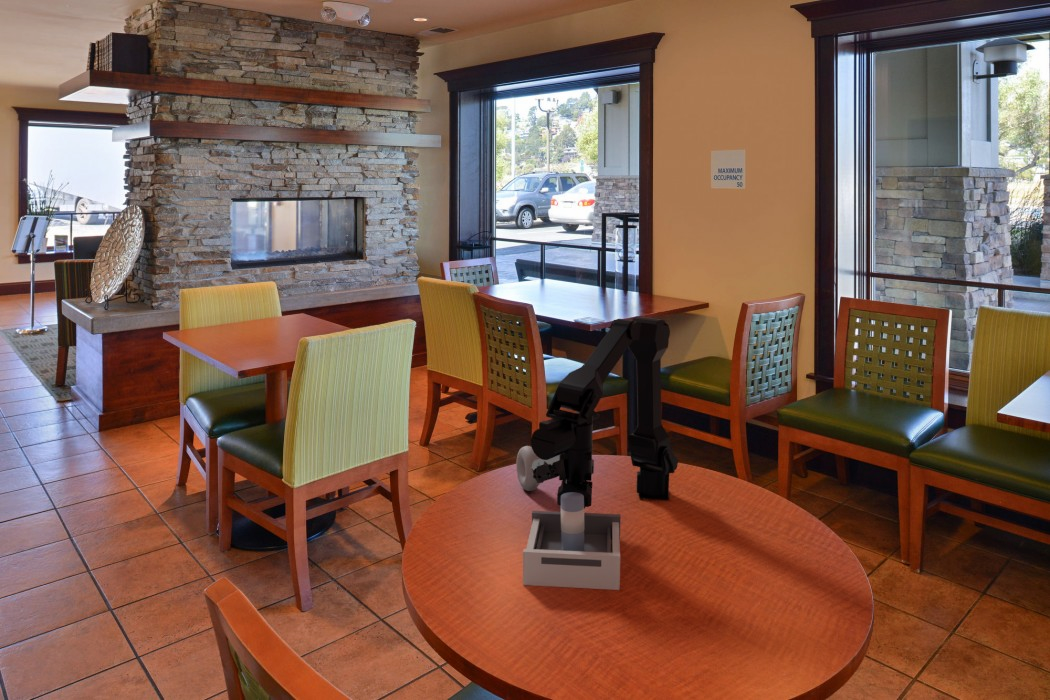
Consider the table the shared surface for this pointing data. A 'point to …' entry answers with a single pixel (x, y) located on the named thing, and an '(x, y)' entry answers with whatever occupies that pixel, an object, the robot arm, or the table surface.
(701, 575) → the table surface
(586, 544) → the tray
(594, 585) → the dock
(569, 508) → the canister
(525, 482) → the donut
